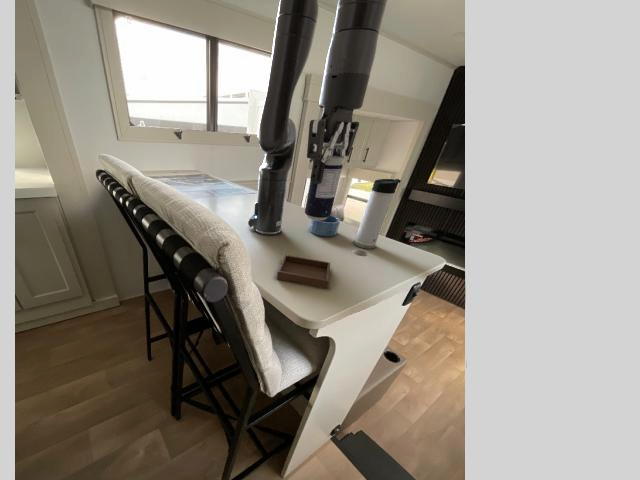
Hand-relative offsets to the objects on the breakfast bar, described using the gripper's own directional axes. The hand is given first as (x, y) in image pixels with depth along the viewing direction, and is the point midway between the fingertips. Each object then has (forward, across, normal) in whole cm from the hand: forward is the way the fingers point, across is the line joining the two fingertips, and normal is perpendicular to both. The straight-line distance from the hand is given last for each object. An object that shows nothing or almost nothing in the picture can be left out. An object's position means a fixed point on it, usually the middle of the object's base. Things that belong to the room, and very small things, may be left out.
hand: (323, 181), depth 52 cm
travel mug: (+23, -32, +2) cm, 39 cm away
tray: (+22, 0, 0) cm, 22 cm away
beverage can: (+8, 0, 0) cm, 8 cm away
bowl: (+22, -31, -14) cm, 40 cm away
